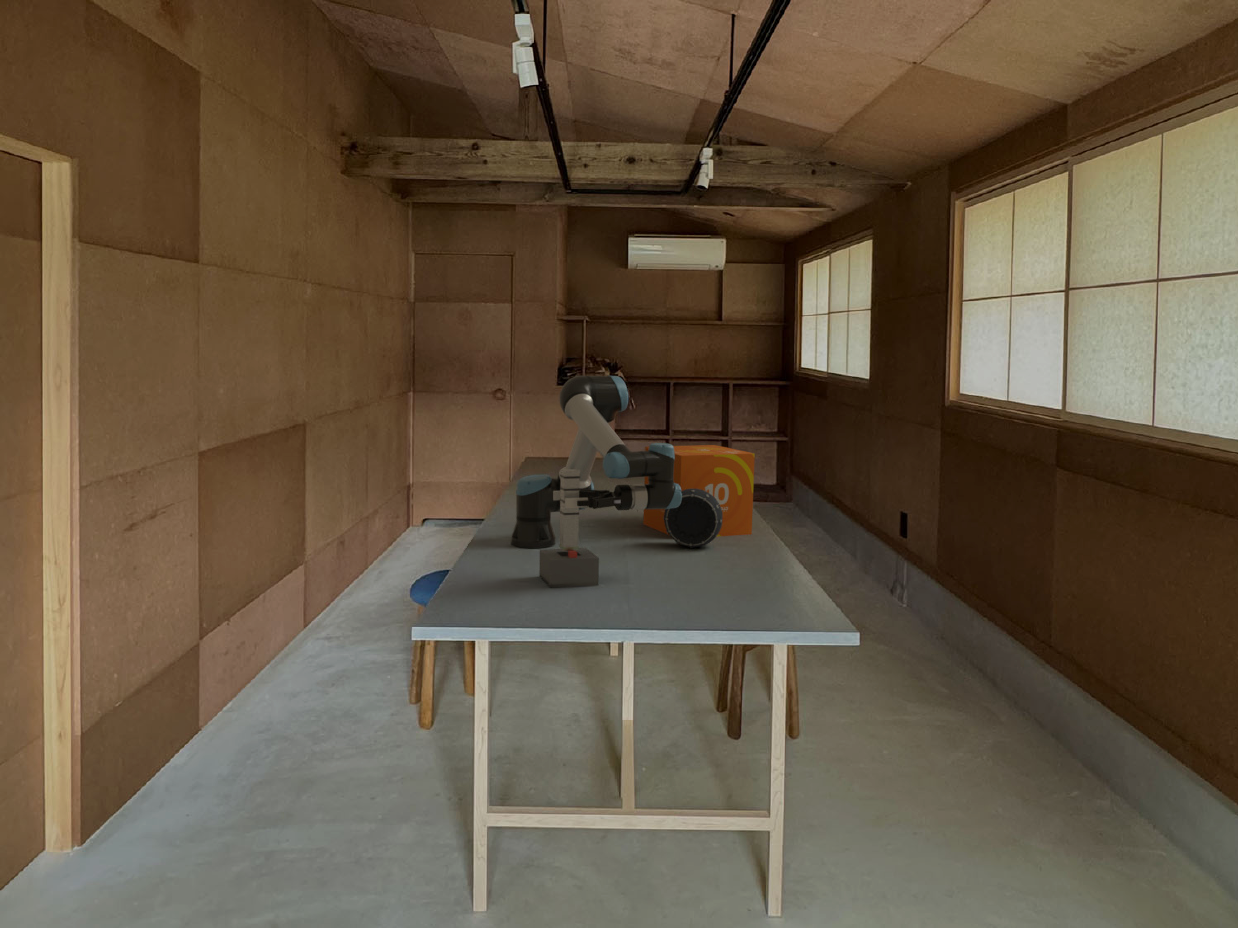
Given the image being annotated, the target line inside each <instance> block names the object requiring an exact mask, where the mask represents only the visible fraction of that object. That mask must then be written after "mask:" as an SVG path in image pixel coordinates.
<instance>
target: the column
mask: <svg viewBox="0 0 1238 928" xmlns="http://www.w3.org/2000/svg"><path fill="white" fill-rule="evenodd" d="M560 470H561V474H560V477H561V486H560V512H559V544H558V547H559V549H562V550H563V551H572V550H578V549H579V548H580V547H579V533H580V531H579V526H580V523H579V522H580V519H579V518H580V510H579V508H565V498H579V491H580V488H579V478H580V476H579V475H580V471H578V470H576V469H562V468H561V469H560Z"/></svg>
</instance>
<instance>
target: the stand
mask: <svg viewBox="0 0 1238 928" xmlns="http://www.w3.org/2000/svg"><path fill="white" fill-rule="evenodd" d="M599 566H600V558H599V556H597V555H596V554H594V553H593V552H592V551H591V550H590V549H588V548H586V547H579V549H578V550H572V551H563V550H562V549H561V548H554V549H553V548H552V549H551V548H550V549H549V548H547V549H539V574H538V575H539V577H541V580H542V581H543V582H544V583H545V584H546V585H547V586H548V587H549V588H550V589H557V588H560V589H561V588H574V587H590V586H591V587H593V586H599V579H600V578H599V571H600V567H599Z"/></svg>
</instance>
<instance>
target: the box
mask: <svg viewBox="0 0 1238 928" xmlns="http://www.w3.org/2000/svg"><path fill="white" fill-rule="evenodd" d="M673 447H674V454H675V460H674V475H673V479H674V483H677V484H679V485H680V487H681V491H683V490H686V489H701V490H704V491H706V492H708V493H710V494H711V495H712V496H714V497H715V498H716V500H717V501H718V503H719V505H720V507H721V509H722V513H723V517H722V527H721V529H720V532H719V533H718V535H717V536H716V537H717V538H718V537H731V536H744V535H745V536H746V535H753V533H752V531H753V513H754V512H753V509H754V483H755V481H754V480H755V459H756V457H755V455H756V453H754V452H749V451H744V450H741V449H740V450H739V449H735V448H730V447H726V446H721V445H717V444H702V445H697V444H696V445H673ZM644 449H645V450H644V451H649V450H648V449H649V446H645V447H644ZM648 483H649V481H648V477H644V483H643V484H648ZM664 512H665V509H643V523H642V524H643V525H644V526H647V527H648V528H652V529H654V530H657V531H658V532H661V533H663V534H665V535H667V536H670V535H669V534H668V533H667V532H666V527H665V523H664V519H663V516H664ZM716 537H715V538H716Z"/></svg>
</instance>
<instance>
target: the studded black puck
mask: <svg viewBox="0 0 1238 928" xmlns="http://www.w3.org/2000/svg"><path fill="white" fill-rule="evenodd" d="M681 493H682V501H681V504H680V505H679V506H678V507H677V508H670V509H665V512H664V516H663V519H664V523H665V527H666V532H667V533H668V534H669V535H668V534H667V535H668V536H670V538H671V539H672V540H674V541H675V543H676V545H682V546H684V547H688V548H690V549H693V548H700V547H703V546H707V545H708V544H710V543H711V542H713V540H715V538H716V536H717V535H718V533H719V532H720V529H721V527H722V517H723V513H722V509H721V507H720V505H719V503H718V501H717V500H716V498H715V497H714V496H712V495H711V494H710V493H708V492H706V491H704V490H701V489H686V490H683V491H681Z"/></svg>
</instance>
